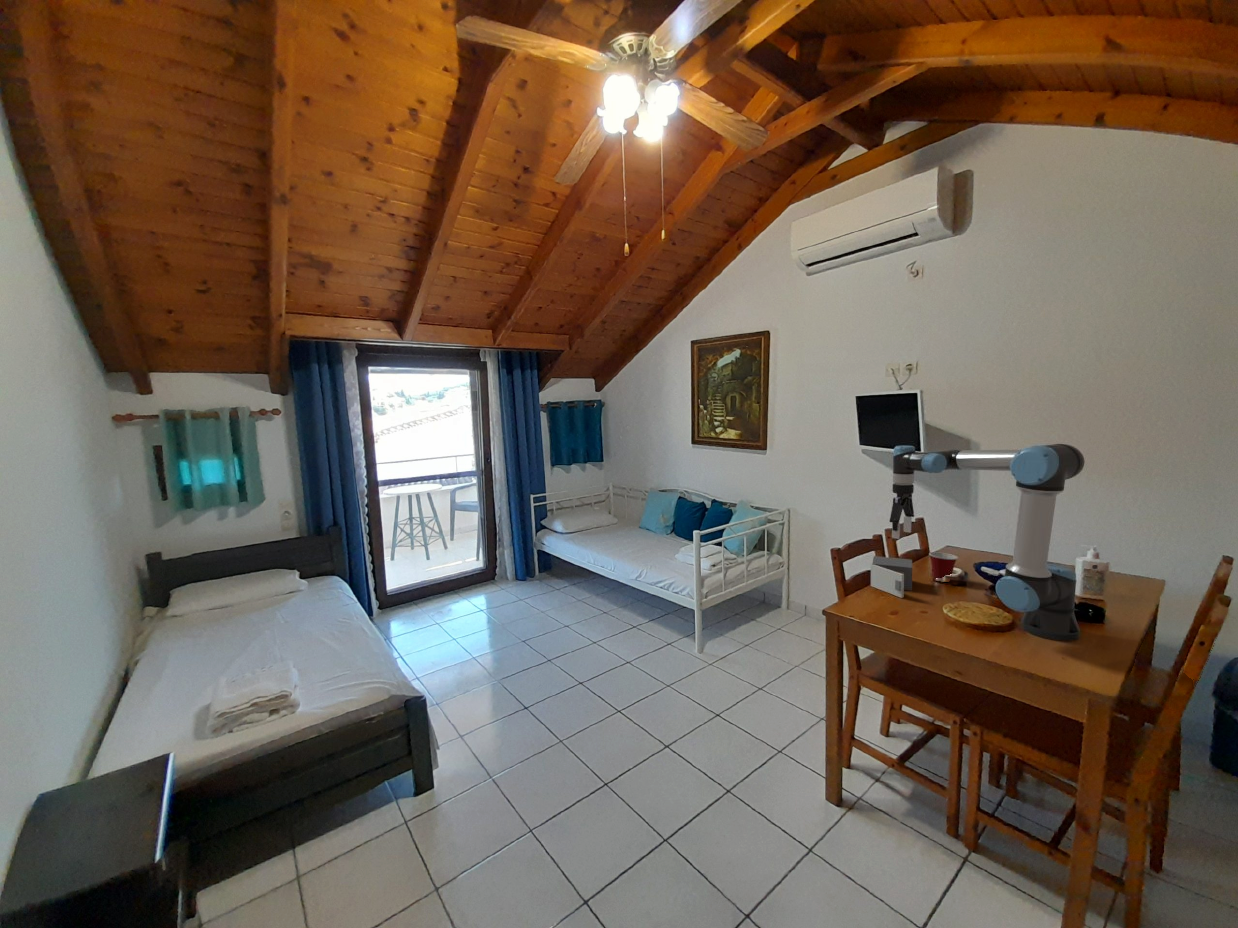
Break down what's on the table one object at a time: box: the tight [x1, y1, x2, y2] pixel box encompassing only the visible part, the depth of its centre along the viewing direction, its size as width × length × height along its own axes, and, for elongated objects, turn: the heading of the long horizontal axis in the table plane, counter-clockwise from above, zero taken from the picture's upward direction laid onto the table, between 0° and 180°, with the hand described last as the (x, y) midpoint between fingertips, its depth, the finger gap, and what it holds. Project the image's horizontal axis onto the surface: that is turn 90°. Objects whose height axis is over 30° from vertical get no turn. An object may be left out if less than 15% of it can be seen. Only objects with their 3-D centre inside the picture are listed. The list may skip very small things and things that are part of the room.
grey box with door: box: [871, 555, 913, 592], centre depth 218 cm, size 14×15×10 cm
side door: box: [870, 563, 905, 599], centre depth 209 cm, size 2×16×10 cm, turn 21°
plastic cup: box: [928, 551, 959, 579], centre depth 218 cm, size 11×11×12 cm
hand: (901, 535), depth 205 cm, fingers open, 12 cm apart
